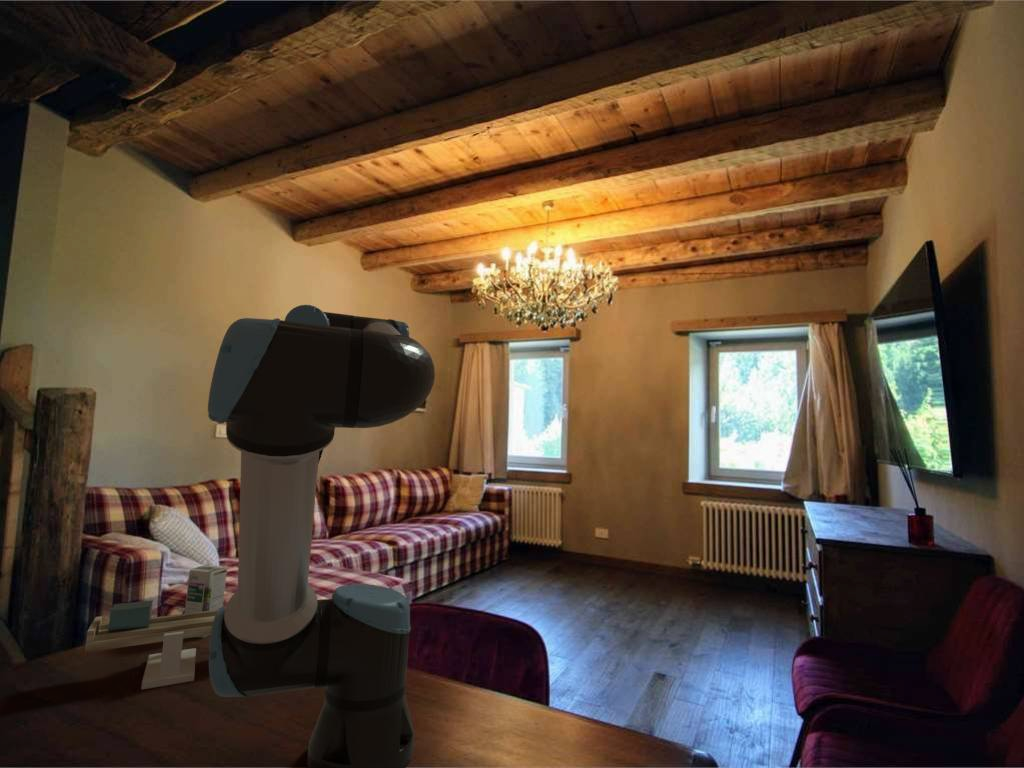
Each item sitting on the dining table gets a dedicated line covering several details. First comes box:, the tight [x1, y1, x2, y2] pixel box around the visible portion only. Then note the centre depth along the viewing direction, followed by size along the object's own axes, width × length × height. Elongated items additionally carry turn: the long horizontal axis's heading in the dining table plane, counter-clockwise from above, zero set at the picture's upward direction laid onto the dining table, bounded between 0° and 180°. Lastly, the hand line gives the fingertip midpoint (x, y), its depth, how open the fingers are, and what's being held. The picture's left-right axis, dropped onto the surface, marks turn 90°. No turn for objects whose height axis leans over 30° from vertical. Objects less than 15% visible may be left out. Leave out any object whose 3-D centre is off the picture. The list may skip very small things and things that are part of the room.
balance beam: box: [84, 610, 218, 653], centre depth 99 cm, size 9×26×6 cm, turn 121°
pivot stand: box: [141, 631, 197, 691], centre depth 99 cm, size 13×8×9 cm, turn 31°
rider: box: [108, 600, 153, 633], centre depth 96 cm, size 4×6×4 cm, turn 120°
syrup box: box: [184, 564, 228, 639], centre depth 118 cm, size 6×6×14 cm
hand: (292, 508), depth 99 cm, fingers closed
